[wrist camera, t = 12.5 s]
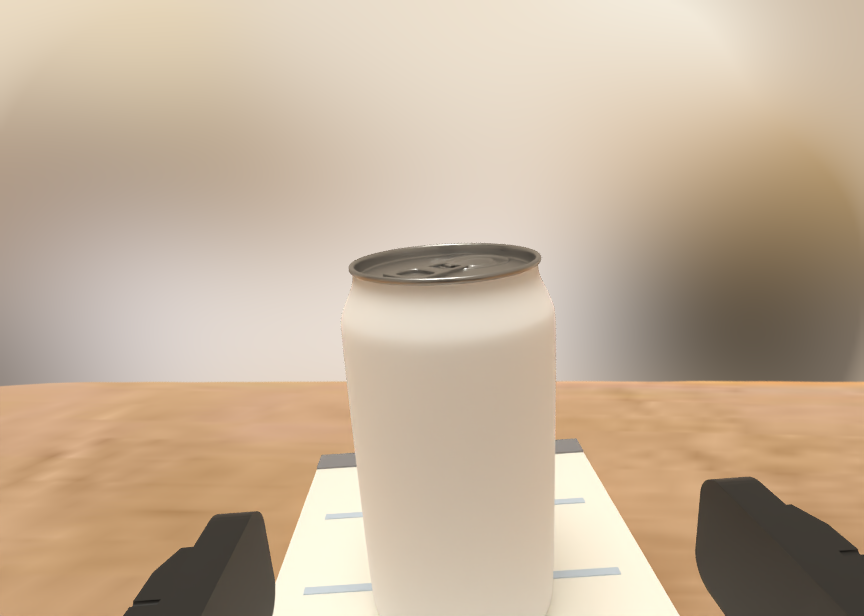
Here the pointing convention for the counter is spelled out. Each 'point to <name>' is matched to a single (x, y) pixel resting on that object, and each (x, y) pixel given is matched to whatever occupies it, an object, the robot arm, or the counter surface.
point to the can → (454, 427)
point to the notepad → (573, 549)
